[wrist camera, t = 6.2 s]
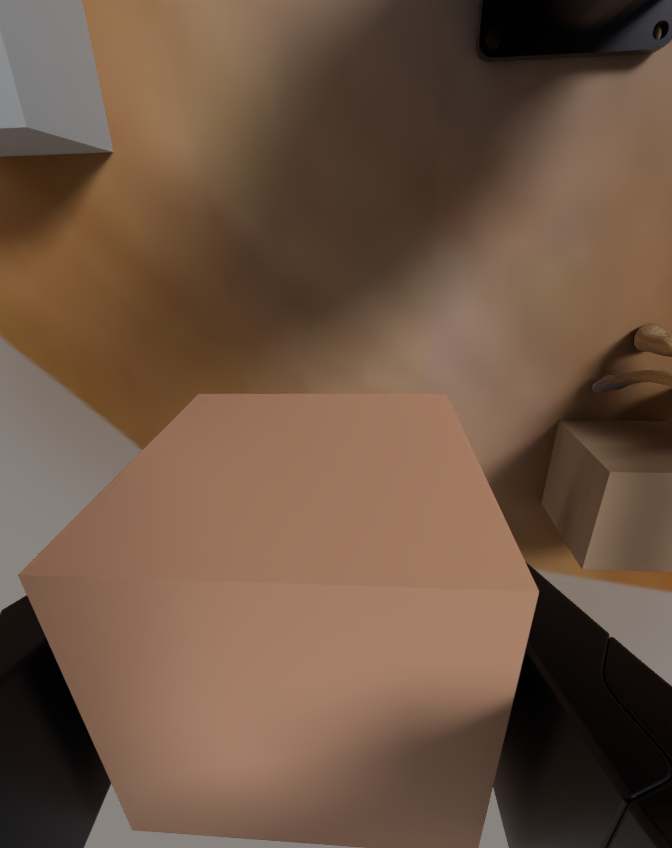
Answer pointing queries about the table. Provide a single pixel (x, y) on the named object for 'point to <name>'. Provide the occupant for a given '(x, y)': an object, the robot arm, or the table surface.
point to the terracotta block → (295, 622)
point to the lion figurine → (649, 341)
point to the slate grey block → (49, 81)
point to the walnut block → (613, 493)
